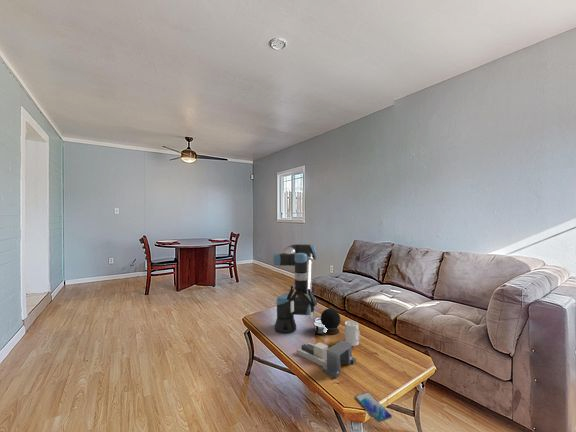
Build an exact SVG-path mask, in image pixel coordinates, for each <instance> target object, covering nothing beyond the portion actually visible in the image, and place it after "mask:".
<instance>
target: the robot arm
mask: <svg viewBox="0 0 576 432" xmlns="http://www.w3.org/2000/svg"><path fill="white" fill-rule="evenodd" d="M272 257H273V258H272V262H273V265H274V266H278V267H279V266H286V267H288V266H289V267H290V266H294V284H293V285H290V289H289V292H288V293H284V294H281V295H279V296H277V298H276V320H275V324H274V332H276V333H278V334H284V335H285V334H286V335H287V334H293V333H294V332H296V331H297V324H296V321H295V317H294V315H295V316H309V318H310V319H312V318H313V316H314V314H315V309H316V306H317V305H318V303H317V299H316V297H315V295H314V292H313V263H315V261H316V260H317V254H316V246H315V245H314V244H310V243H309V244H301V243H299V244H290V245H287V246H286V247H285V248H284V249H283V250H282V252H281V253H274V254H273V256H272ZM294 291H295V292H294Z"/></svg>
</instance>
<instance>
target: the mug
mask: <svg viewBox="0 0 576 432" xmlns="http://www.w3.org/2000/svg"><path fill="white" fill-rule="evenodd" d="M361 338H362V337H361V332H360V330H359V323H358V322H357V321H354V320H346V321H345V322H344V341H346V342H348V343H351V344H352V347H356V346H359V344H360V343H359V342H360V340H361Z"/></svg>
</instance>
